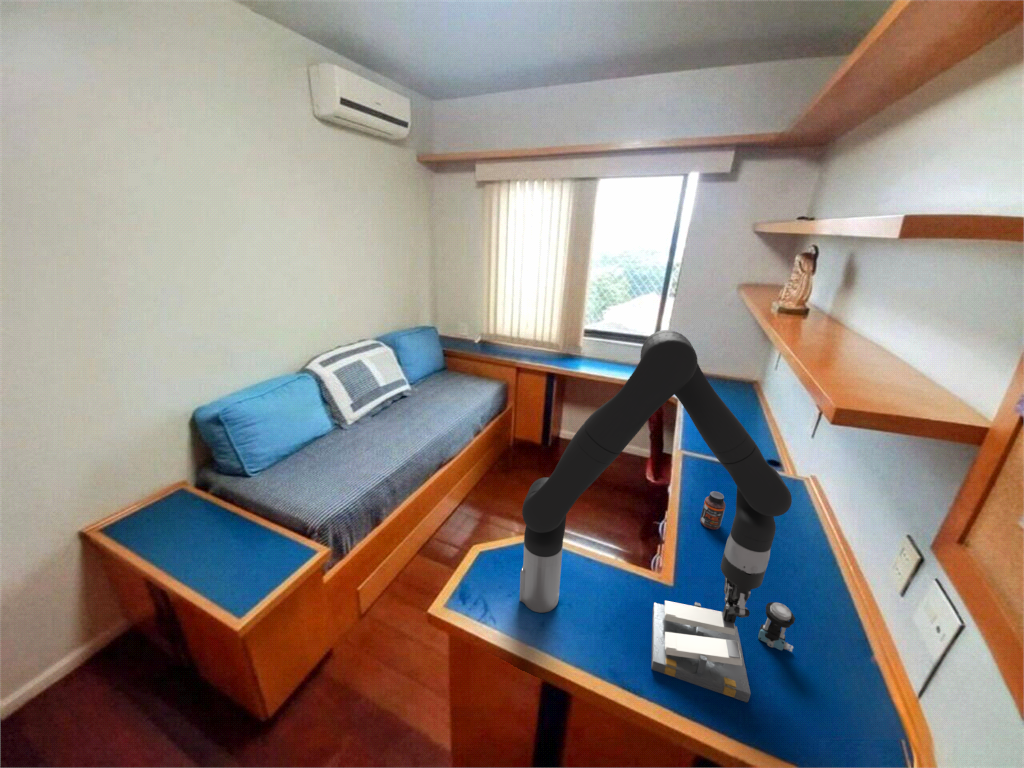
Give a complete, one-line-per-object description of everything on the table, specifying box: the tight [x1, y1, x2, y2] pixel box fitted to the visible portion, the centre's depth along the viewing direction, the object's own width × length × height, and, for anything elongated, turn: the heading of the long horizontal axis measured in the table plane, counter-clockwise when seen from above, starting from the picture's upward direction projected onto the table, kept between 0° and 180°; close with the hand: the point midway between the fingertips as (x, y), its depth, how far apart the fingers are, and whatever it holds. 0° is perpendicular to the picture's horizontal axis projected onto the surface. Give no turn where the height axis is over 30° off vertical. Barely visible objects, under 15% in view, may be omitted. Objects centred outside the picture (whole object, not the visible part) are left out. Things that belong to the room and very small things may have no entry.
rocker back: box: [664, 600, 736, 635], centre depth 86 cm, size 14×4×2 cm, turn 70°
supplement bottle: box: [699, 491, 726, 530], centre depth 122 cm, size 6×6×11 cm
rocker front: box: [665, 632, 742, 666], centre depth 80 cm, size 14×4×2 cm, turn 69°
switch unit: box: [651, 601, 752, 703], centre depth 84 cm, size 18×15×7 cm
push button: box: [757, 601, 796, 653], centre depth 85 cm, size 7×5×10 cm
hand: (728, 619), depth 84 cm, fingers closed
